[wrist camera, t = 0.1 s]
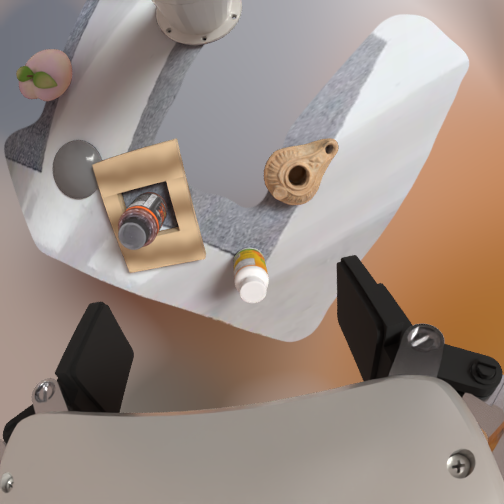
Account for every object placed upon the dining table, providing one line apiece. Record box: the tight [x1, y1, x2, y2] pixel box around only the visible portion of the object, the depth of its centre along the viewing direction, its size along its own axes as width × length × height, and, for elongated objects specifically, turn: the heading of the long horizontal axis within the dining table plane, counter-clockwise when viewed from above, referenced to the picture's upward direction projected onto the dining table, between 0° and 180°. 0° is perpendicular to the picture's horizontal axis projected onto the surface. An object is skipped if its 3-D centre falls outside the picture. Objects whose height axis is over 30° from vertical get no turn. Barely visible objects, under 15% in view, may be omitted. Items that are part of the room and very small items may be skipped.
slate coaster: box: [53, 140, 102, 198], centre depth 42 cm, size 10×10×1 cm
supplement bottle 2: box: [234, 248, 269, 303], centre depth 48 cm, size 5×5×10 cm
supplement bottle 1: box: [118, 192, 167, 250], centre depth 42 cm, size 6×6×11 cm
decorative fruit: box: [16, 49, 72, 101], centre depth 30 cm, size 9×8×10 cm
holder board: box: [92, 139, 206, 273], centre depth 46 cm, size 20×14×2 cm
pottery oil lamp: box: [264, 139, 338, 205], centre depth 43 cm, size 9×12×7 cm
